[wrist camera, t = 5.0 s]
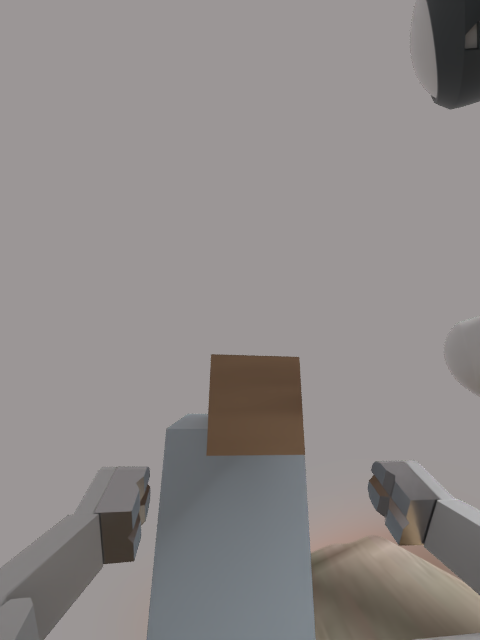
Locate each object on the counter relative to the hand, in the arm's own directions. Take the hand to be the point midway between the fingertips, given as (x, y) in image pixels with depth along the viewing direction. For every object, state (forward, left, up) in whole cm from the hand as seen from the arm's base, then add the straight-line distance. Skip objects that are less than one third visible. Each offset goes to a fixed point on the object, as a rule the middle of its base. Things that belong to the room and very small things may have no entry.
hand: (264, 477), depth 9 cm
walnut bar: (-4, -10, +1) cm, 11 cm away
